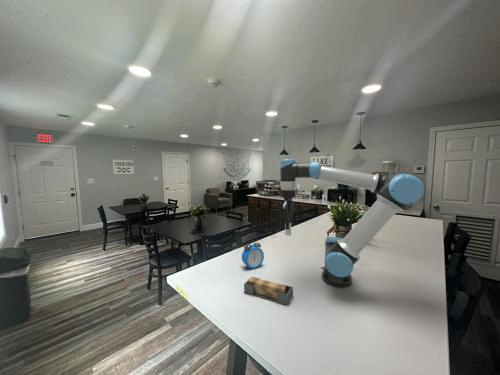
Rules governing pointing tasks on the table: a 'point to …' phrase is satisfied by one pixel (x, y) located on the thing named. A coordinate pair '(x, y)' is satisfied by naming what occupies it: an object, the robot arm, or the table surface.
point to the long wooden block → (267, 287)
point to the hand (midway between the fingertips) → (288, 235)
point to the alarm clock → (252, 255)
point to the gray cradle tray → (280, 299)
